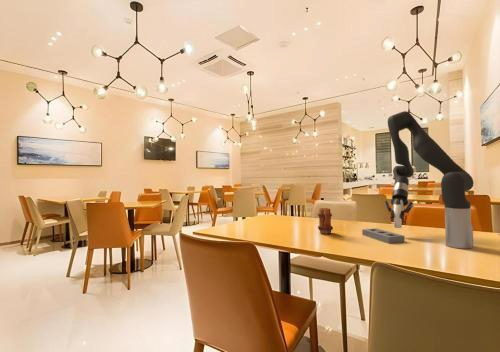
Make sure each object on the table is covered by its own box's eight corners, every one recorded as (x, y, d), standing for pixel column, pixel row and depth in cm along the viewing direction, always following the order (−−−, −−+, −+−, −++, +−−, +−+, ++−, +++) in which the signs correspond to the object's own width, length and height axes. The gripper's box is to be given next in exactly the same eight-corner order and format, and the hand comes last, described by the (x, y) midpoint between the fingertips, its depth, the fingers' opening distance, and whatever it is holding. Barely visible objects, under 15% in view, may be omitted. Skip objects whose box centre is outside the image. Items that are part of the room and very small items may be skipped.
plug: (398, 226, 144) (397, 198, 144) (403, 227, 141) (402, 199, 141) (392, 227, 143) (392, 198, 143) (397, 228, 140) (396, 199, 140)
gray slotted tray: (376, 233, 150) (376, 228, 150) (404, 241, 131) (404, 235, 131) (362, 234, 148) (362, 229, 148) (388, 243, 129) (388, 237, 129)
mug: (317, 231, 160) (316, 206, 160) (331, 231, 159) (330, 206, 159) (320, 237, 146) (319, 209, 146) (335, 237, 144) (335, 209, 145)
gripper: (385, 188, 152) (381, 212, 142) (414, 188, 144) (412, 214, 134) (387, 196, 156) (383, 220, 147) (415, 197, 148) (413, 223, 138)
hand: (397, 217), depth 140 cm, fingers closed on plug, 3 cm apart
